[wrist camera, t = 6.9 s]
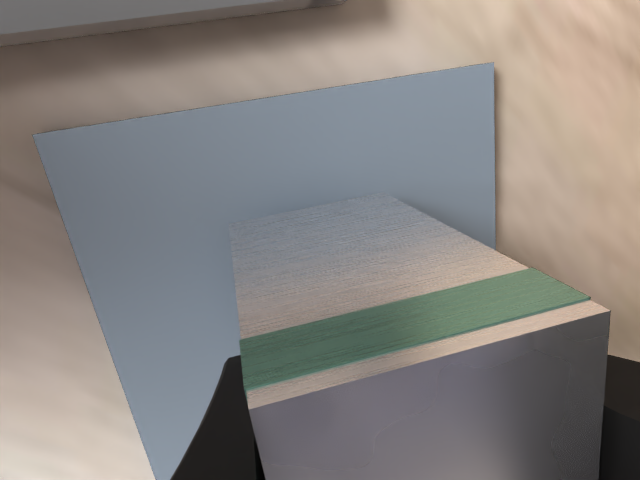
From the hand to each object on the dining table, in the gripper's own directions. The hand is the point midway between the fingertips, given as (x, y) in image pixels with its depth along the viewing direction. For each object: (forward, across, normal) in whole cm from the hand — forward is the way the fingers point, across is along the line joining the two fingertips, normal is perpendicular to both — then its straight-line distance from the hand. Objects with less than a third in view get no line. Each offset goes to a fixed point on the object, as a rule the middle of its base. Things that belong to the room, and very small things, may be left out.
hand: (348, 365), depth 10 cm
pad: (+4, 0, 0) cm, 4 cm away
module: (+2, 0, 0) cm, 2 cm away
